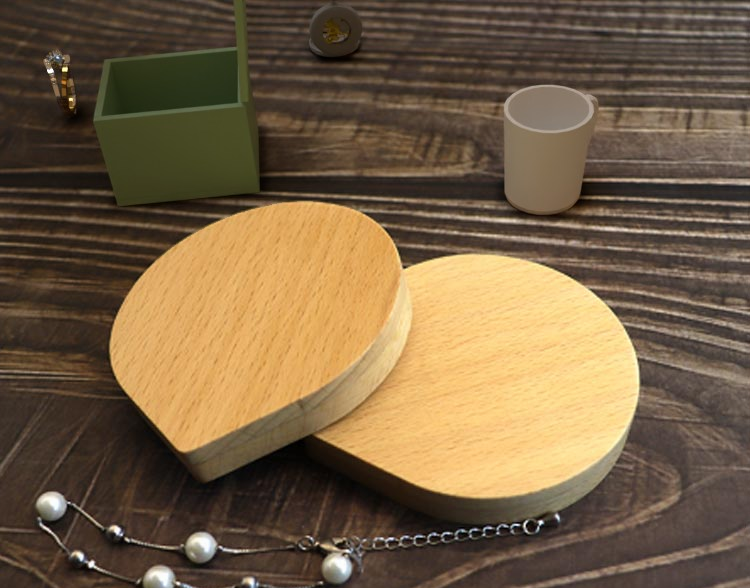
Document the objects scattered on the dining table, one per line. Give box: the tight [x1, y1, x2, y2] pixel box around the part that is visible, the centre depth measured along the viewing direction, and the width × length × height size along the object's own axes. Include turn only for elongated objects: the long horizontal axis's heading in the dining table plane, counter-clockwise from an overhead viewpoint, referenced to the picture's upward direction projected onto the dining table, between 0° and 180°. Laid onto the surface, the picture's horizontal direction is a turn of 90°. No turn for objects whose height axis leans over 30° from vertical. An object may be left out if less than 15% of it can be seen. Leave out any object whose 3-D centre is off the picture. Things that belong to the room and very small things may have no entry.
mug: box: [503, 84, 600, 216], centre depth 105 cm, size 11×9×10 cm
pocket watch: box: [308, 0, 363, 58], centre depth 129 cm, size 8×8×10 cm
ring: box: [43, 48, 78, 118], centre depth 122 cm, size 7×3×8 cm, turn 2°
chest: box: [92, 46, 261, 207], centre depth 112 cm, size 16×13×11 cm
